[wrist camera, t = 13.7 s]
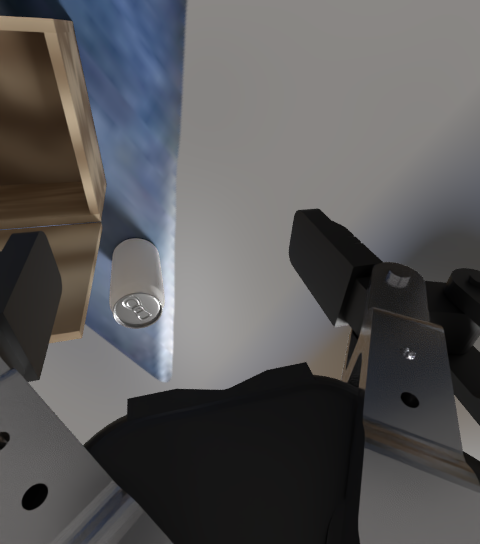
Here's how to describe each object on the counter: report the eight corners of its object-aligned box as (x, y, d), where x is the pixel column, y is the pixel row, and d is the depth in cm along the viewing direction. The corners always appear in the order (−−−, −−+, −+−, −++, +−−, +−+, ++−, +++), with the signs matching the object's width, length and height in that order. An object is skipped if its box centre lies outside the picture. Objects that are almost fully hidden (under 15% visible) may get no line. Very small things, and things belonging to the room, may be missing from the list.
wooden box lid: (-227, 381, 16) (-141, 454, 20) (79, 334, 19) (102, 404, 23) (-65, 235, 29) (-31, 296, 33) (101, 222, 32) (113, 278, 36)
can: (143, 229, 45) (146, 281, 36) (167, 261, 49) (176, 315, 40) (102, 250, 45) (96, 307, 36) (130, 280, 49) (130, 338, 40)
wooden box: (-108, 10, 27) (-203, 3, 19) (72, 21, 30) (52, 18, 23) (-24, 191, 37) (-65, 234, 29) (106, 184, 40) (100, 221, 32)
